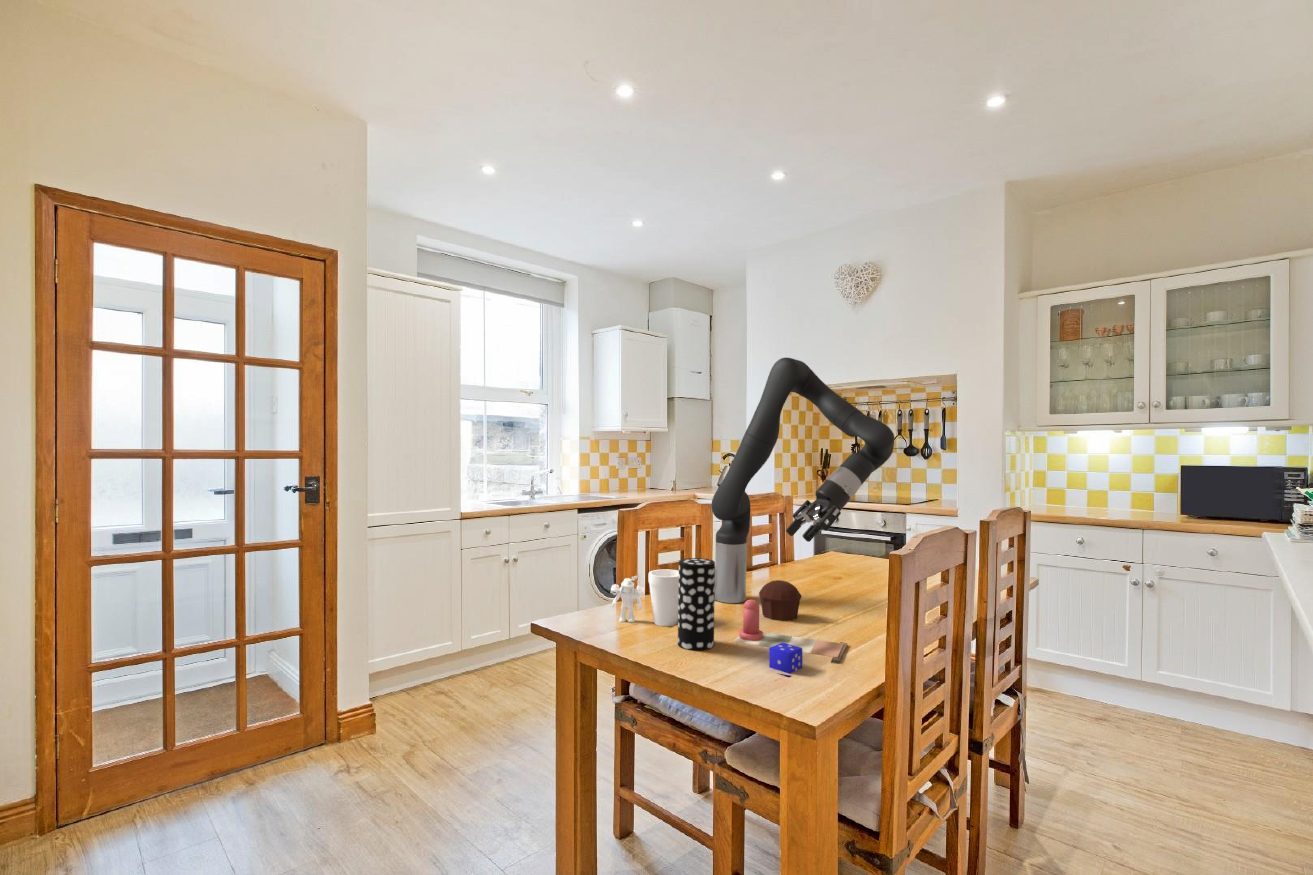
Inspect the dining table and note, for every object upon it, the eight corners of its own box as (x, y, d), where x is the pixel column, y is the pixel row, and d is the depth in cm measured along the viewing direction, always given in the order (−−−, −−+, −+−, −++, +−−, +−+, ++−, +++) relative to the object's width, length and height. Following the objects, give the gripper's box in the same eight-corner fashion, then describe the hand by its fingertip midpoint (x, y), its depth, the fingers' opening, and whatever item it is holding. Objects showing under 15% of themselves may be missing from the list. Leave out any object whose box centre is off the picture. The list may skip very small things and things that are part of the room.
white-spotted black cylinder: (717, 653, 143) (719, 564, 142) (681, 655, 141) (682, 565, 141) (708, 641, 151) (709, 557, 151) (674, 642, 149) (675, 558, 149)
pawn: (736, 638, 151) (736, 600, 150) (743, 632, 156) (743, 595, 156) (759, 642, 148) (759, 603, 148) (765, 635, 153) (765, 598, 153)
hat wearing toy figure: (644, 619, 168) (645, 574, 168) (642, 623, 164) (642, 577, 164) (611, 617, 170) (612, 572, 170) (608, 621, 166) (608, 575, 166)
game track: (728, 646, 147) (728, 642, 147) (744, 630, 159) (744, 627, 159) (839, 663, 137) (839, 659, 137) (847, 645, 149) (847, 642, 149)
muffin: (751, 614, 174) (751, 578, 174) (787, 611, 177) (788, 575, 177) (770, 626, 163) (771, 588, 163) (809, 623, 166) (809, 585, 166)
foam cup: (642, 625, 163) (643, 574, 163) (655, 615, 171) (656, 568, 171) (677, 629, 159) (677, 578, 159) (688, 620, 168) (689, 571, 168)
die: (768, 671, 132) (769, 647, 132) (782, 665, 136) (782, 642, 136) (789, 677, 129) (789, 653, 129) (802, 671, 132) (802, 647, 132)
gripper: (814, 476, 164) (773, 522, 161) (845, 480, 151) (801, 530, 147) (832, 496, 166) (792, 542, 163) (864, 502, 152) (821, 552, 149)
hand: (796, 536), depth 155 cm, fingers open, 8 cm apart
